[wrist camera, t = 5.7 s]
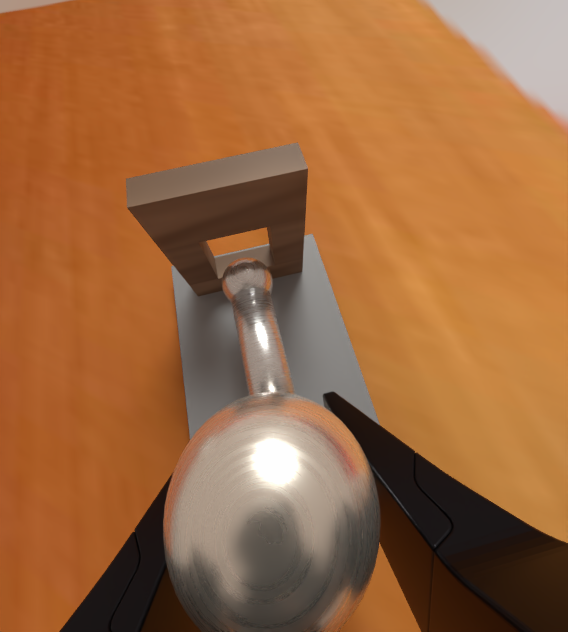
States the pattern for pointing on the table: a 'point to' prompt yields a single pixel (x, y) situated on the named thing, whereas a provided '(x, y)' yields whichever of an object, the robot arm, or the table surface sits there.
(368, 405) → the base board
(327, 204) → the table surface
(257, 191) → the block
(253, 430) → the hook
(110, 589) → the robot arm
